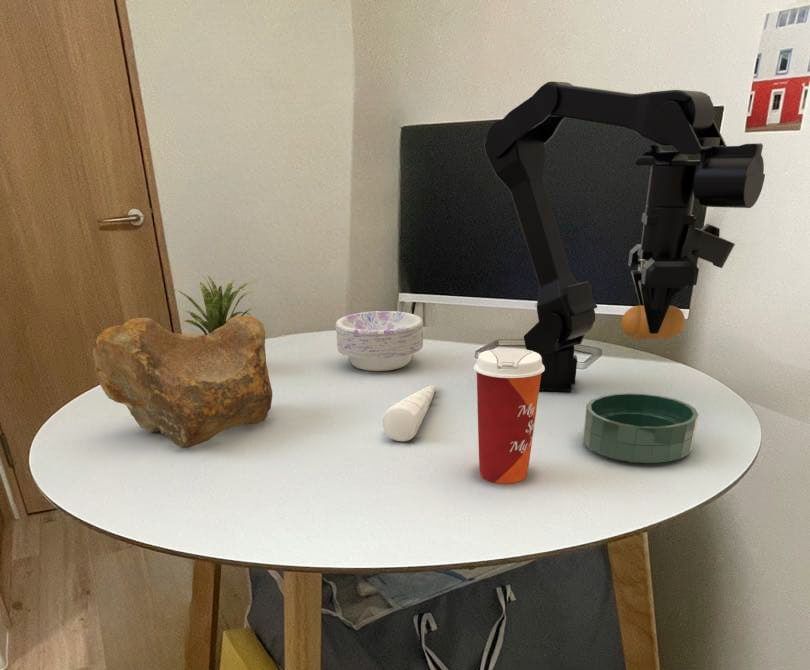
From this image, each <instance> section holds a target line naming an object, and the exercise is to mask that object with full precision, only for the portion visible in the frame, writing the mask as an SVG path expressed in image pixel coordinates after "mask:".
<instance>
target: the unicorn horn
mask: <svg viewBox="0 0 810 670" xmlns="http://www.w3.org/2000/svg"><path fill="white" fill-rule="evenodd" d="M436 388H437V386H436V385H435V384H431V385H428V386H426V387H424V388H422V389H420V390H418V391H416V392H414V393H412V394H411V395H409V396H407V397H405V398H403V399H402V400H400V401H398V402H397V403H395V404H393V405H392V406H390V407H389V408H388V409H387V410H386V411H385V413H384V415H383V417H382V428H383V431H384V434H385V435H386V436H387V437H388V438H389V439H391V440H394V441H396V442H404V443H405V442H408V441H411V440H412V439H413V438H414V437H415V436H416V435H417V434H418V431H419V429H420V427H421V424H422V423H423V420H424V419H425V416H426V414H427V412H428V410H429V407H430V406H431V404H432V401H433V399H434V395H435V393H436Z"/></svg>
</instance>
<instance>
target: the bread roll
mask: <svg viewBox="0 0 810 670" xmlns="http://www.w3.org/2000/svg"><path fill="white" fill-rule="evenodd" d="M685 324H686V317H685V314H684V312H683V311H682V310H681V309H680V308H679V307H677V306H674V305H670V306H669V308H668V310H667V313H666V315H665V318H664V320H663V323H662V325H661V327H660V330H659V332H658V333H657V334H651V333H650V332H649V328H648V324H647V319H646V314H645V310H644V306H640V305H635V306H632V307H630V308H628V309H627V310H626V311H625V312H624V313H623V315H622V318H621V324H620V325H621V329H622V331H623V333H624V334H625V335H626V336H627V337H629V338H630V339H636V340H637V339H638V340H639V339H640V340H641V339H642V340H671V339H673V338H675V337H677V336H678V335H680V334H681V333H682V331H683V330H684V328H685Z"/></svg>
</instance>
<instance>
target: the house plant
mask: <svg viewBox="0 0 810 670" xmlns="http://www.w3.org/2000/svg"><path fill="white" fill-rule="evenodd" d="M202 276H203V275H202ZM203 278H204V280H205V281H206V283H207V285H208V287H209V288H208V287H207V286H206V285H205V283H203V282H202V281H199V287H200V290H201V293H202V298H203V303H204V307H205V311H204V310H203V309H202V308H201V306H200V305H199V304H198V303H197V302H196V301H195V300H194V299H193V298H192V297H190V296H189V295H187V294H186V293H184V292H182V291H181V290H178V289H176V288H173V290H174V291H177V292H178V293H180V294H181V295H183V296H184V297H185V299H187V300H189V302H191V303H192V305H194V307H195V308H196V309H197V311H198V312H199V313H200V314H201V316H202V317H203V318H204V319H203V318H202V317H201V316H199V315H198V314H196V313H194V312H193V311H191V310H186V312H187V313H188V314H189V315H190V316H191V317H192V318H193V319H194V320H193V319H184V320H182V322H183V323H187V324H191V325H193V326H195V327H197V328H198V329H200V330H201V331H202V332H203V335H208V334H210V333H212V332H213V331H214V330H216V329H218V328H220V327H222V326H223V325H224V324H226V323H227V322H228V320H229V319H230V318H233V317H237V316H238V315H240V314H241V315H240V316H246V314H247V315H248V316H250V317H253V316H252V315H251V314H250V313H249V311H251V310H254V309H256V307H251V308H248V309H246V310H245V311H236V312H235V310H236V308H237V306H238V304H239V303H240V302H241V300H242V299H243V298H244V297H245V296H246V295H247V294H251V293H252V291H246V292H245V293H243V294H242V295H241V296H240V297H239V298H238V299H237V301H236V303H235V305H234V307H233V309H232V311H231V313H230V316H229V318H228V314H229V311H230V308H231V307H232V304H233V302H234V300H235V298H236V297H237V295H238V294H239V292H241V291H242V290H244V291H245V290H246V289H244V288H245V287H246V286H248V285H250V284H253V283H256V282H257V283H258V280H253V281H249V282H246V283H244V284H241V285H240V286H239V287H238V288H237V289H236V290H234V291H232V289H234V286H233V284H234V283H235V279H233V280H231V281H229V282H228V284H226V287H225V289H224V292H223V286H222V285H219V286H217V285H216V284H215V282H214V280H213V279H212V278H211V276H210V275H207V278H208V280H209V281H210V283H209V281H208V280H207V278H206V277H205V276H203ZM210 284H211V285H210ZM217 287H218V288H217ZM206 330H207V331H206ZM207 332H208V333H207Z"/></svg>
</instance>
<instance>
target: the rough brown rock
mask: <svg viewBox="0 0 810 670" xmlns="http://www.w3.org/2000/svg"><path fill="white" fill-rule="evenodd" d="M229 318H230V317H229ZM229 318H228V319H229ZM228 319H227V320H228ZM207 334H208V333H207ZM96 337H97V338H96V342H95V347H94V348H93V349H92V353H93V354H92V355H93V358H94V367H95V368H94V371H95V375H96V377H97V379H98V383H99V385H100V387H101V389H102V391H103V392H104V394H105V395H106V397H107V398H108V399H109V400H113V402H115V403H119V404H121V405H124V406H126V409H128V411H129V413H130V415H131V416H132V417H133V418H134V420H135V422H136V423H137V424H138V426H139V427H140V428H141V429H144V430H146V431H149V432H155V433H156V432H160V434H161V435H164V436H167V437H168V439H170V441H172V442H173V443H174V445H176V446H178V447H179V448H181V449H189V448H192V447H194V446H196V445H199V444H203V443H205V442H207V441H210V440H211V439H212V438H213V437H215V436H217V435H219V434H220V433H222V432H223V431H225V430H226V431H227V430H229V429H231V428H234V427H238V426H251V425H258V424H260V423H263V422H265V419H266V418H267V416H268V413H269V411H270V410H271V407H272V403H273V397H274V396H273V395H274V394H273V389H272V385H271V384H272V383H271V379H270V376H269V375H270V374H269V370H268V363H267V353H266V330H265V326H264V323H262V322H261V321H260V320H259V319H258V318H256V317H253V316H252V317H251V315H244V316H241V315H239V316H238V315H236V316H235V317H233V318H230V319H229V320H228V322H227V323H226V324H224V325H223V326H222V327H220V328H218V329H216V330H214V331H213V332H212V333H210V334H208V335H204V334H200V333H187V334H183V333H182V334H181V333H177V332H172V331H170V330H167V329H165V328H164V327H162V325H160V324H159V323H158V322H157V321H156V320H154V319H152V318H150V317H137V318H136V317H135V318H132V319H131V318H130V319H129V320H128V321H126V322H124V324H123V325H121V324H118V325H114V326H111V327H107V328H105V329H104V330H103V331H102V332H101V333H99V335H98V336H96Z"/></svg>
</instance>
